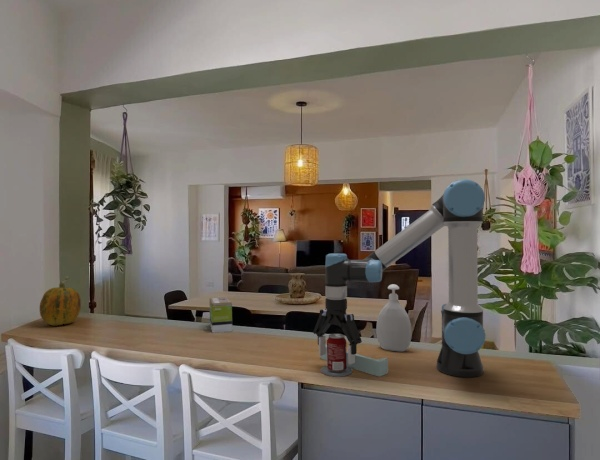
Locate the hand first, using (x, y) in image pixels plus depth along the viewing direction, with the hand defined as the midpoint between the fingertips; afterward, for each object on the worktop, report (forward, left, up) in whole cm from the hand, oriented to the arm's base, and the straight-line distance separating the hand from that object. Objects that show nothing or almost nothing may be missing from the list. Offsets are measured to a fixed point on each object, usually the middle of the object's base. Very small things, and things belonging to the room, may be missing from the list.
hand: (336, 359), depth 141 cm
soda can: (0, 0, -4) cm, 4 cm away
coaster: (0, 0, -4) cm, 4 cm away
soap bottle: (+1, -37, -4) cm, 37 cm away
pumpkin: (+149, +51, -4) cm, 158 cm away
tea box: (+82, -5, -4) cm, 82 cm away
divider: (0, -9, -4) cm, 10 cm away
